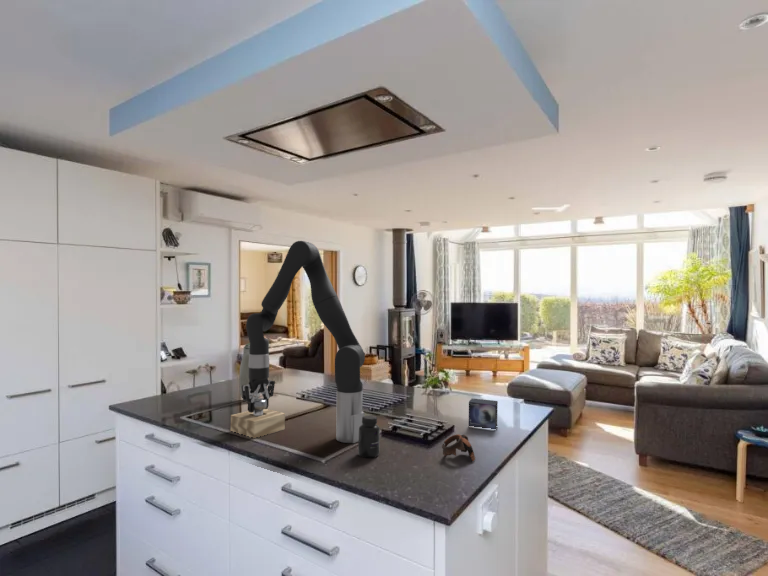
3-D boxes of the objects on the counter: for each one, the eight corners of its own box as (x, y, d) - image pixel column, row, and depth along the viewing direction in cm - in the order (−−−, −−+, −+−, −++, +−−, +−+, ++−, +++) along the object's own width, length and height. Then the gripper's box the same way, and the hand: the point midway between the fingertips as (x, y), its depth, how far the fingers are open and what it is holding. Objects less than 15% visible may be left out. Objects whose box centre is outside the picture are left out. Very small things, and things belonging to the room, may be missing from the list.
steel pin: (269, 422, 164) (269, 399, 164) (256, 426, 159) (257, 402, 159) (259, 419, 167) (259, 397, 167) (246, 423, 162) (246, 400, 163)
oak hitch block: (284, 429, 165) (284, 413, 165) (254, 438, 153) (254, 421, 153) (260, 422, 173) (261, 407, 173) (230, 431, 161) (230, 415, 162)
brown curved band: (474, 467, 130) (461, 444, 130) (448, 475, 134) (434, 453, 134) (481, 445, 141) (468, 423, 141) (456, 453, 145) (444, 432, 145)
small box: (467, 428, 168) (467, 401, 168) (471, 424, 174) (471, 397, 174) (495, 431, 164) (495, 404, 164) (497, 427, 170) (497, 400, 170)
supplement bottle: (376, 459, 135) (377, 420, 135) (355, 457, 136) (356, 419, 136) (381, 451, 141) (381, 414, 142) (361, 450, 143) (361, 413, 143)
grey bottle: (235, 401, 208) (236, 343, 209) (252, 397, 217) (253, 341, 217) (248, 404, 203) (249, 344, 203) (265, 400, 211) (266, 342, 212)
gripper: (249, 369, 156) (248, 416, 155) (280, 364, 167) (279, 408, 167) (236, 367, 160) (235, 412, 160) (267, 362, 172) (267, 405, 171)
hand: (258, 410), depth 163 cm, fingers closed on steel pin, 6 cm apart
